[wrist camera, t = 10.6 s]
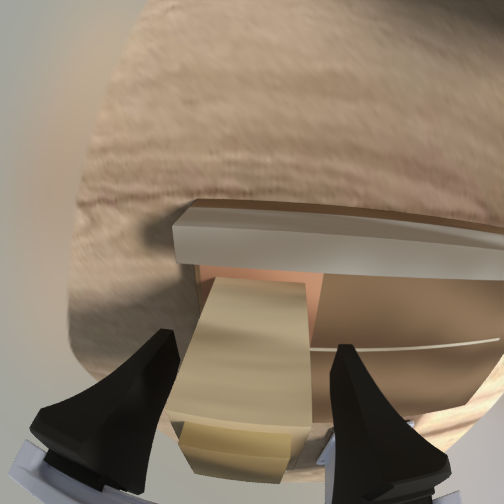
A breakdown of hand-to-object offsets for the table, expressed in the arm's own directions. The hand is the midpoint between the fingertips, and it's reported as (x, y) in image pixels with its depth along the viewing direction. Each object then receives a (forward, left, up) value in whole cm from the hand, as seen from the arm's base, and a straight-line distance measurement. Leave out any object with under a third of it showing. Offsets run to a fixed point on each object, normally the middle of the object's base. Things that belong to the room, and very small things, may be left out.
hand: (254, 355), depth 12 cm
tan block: (0, 0, -2) cm, 2 cm away
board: (-2, -8, -3) cm, 9 cm away
